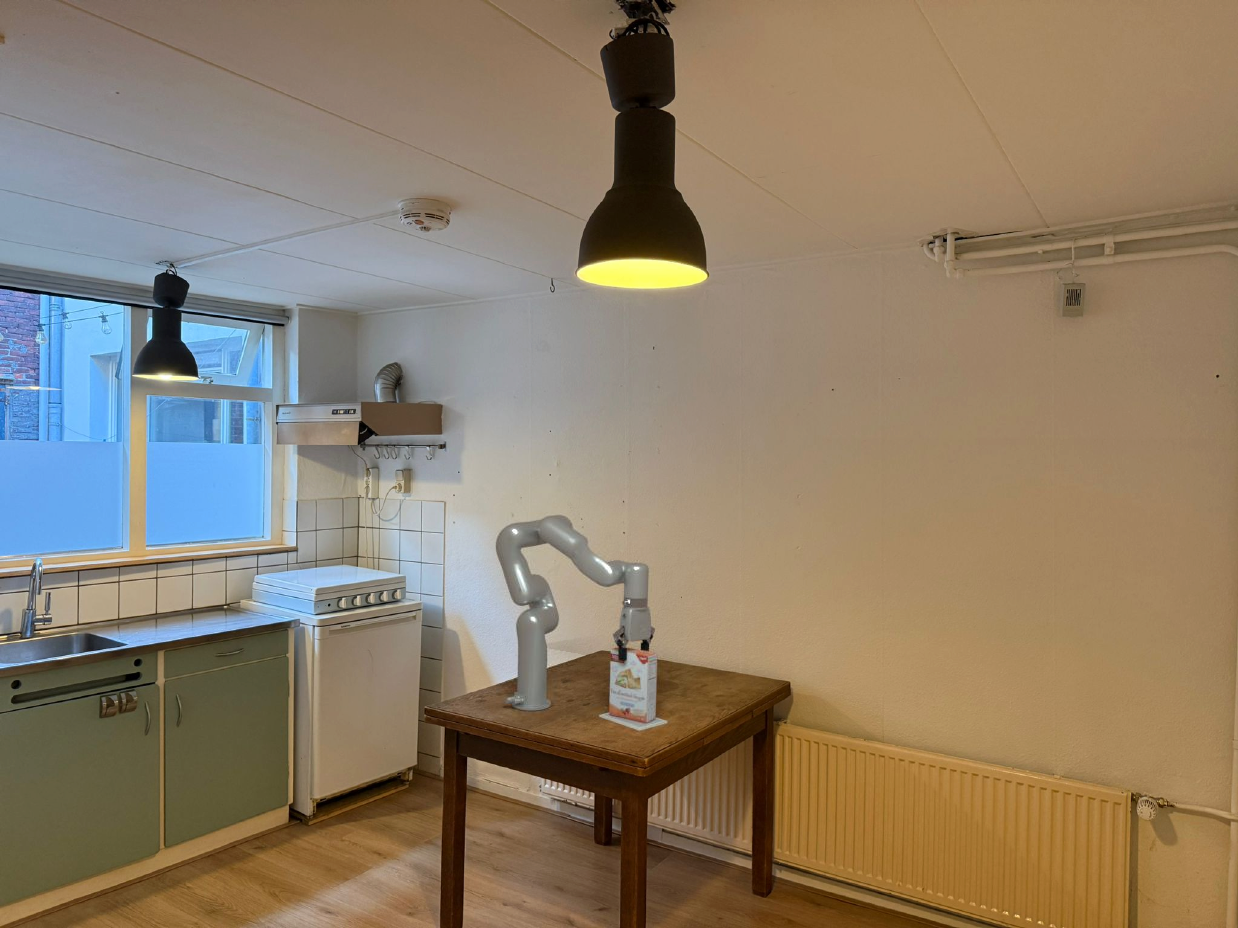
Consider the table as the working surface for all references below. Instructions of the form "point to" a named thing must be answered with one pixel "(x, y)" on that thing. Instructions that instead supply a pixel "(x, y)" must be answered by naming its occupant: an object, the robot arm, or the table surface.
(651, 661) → the cracker box
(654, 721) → the plate
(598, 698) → the table surface
